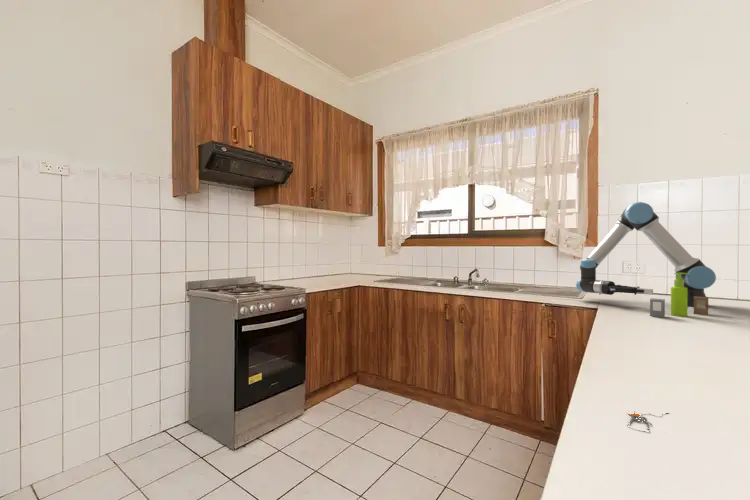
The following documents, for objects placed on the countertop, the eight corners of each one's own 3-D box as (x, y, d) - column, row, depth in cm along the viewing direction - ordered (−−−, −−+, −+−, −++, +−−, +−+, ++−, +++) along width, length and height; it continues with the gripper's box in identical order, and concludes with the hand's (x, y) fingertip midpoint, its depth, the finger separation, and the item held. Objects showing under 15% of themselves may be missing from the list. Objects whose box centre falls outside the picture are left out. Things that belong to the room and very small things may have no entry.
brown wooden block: (693, 312, 170) (693, 296, 170) (707, 313, 166) (707, 297, 166) (693, 314, 166) (693, 297, 166) (708, 315, 162) (708, 298, 162)
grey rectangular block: (650, 314, 164) (650, 298, 164) (664, 316, 161) (664, 299, 161) (650, 316, 161) (650, 299, 161) (664, 318, 157) (664, 300, 157)
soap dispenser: (693, 316, 160) (693, 273, 160) (677, 316, 160) (677, 273, 160) (682, 314, 166) (682, 272, 166) (667, 314, 166) (667, 272, 166)
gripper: (612, 293, 198) (660, 298, 176) (597, 294, 193) (644, 300, 171) (612, 280, 198) (659, 283, 176) (597, 281, 193) (643, 285, 171)
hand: (652, 291), depth 173 cm, fingers closed
